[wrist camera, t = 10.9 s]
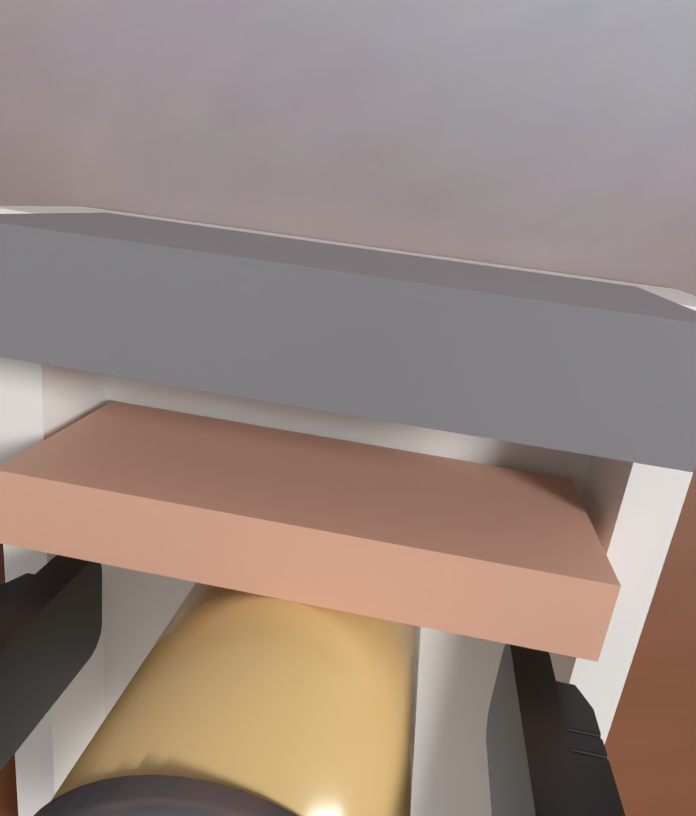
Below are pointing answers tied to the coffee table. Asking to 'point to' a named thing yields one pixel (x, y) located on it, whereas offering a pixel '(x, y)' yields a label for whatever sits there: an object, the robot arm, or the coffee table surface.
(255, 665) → the amber jar
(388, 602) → the plate
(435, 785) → the tray
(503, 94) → the coffee table surface
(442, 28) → the coffee table surface
